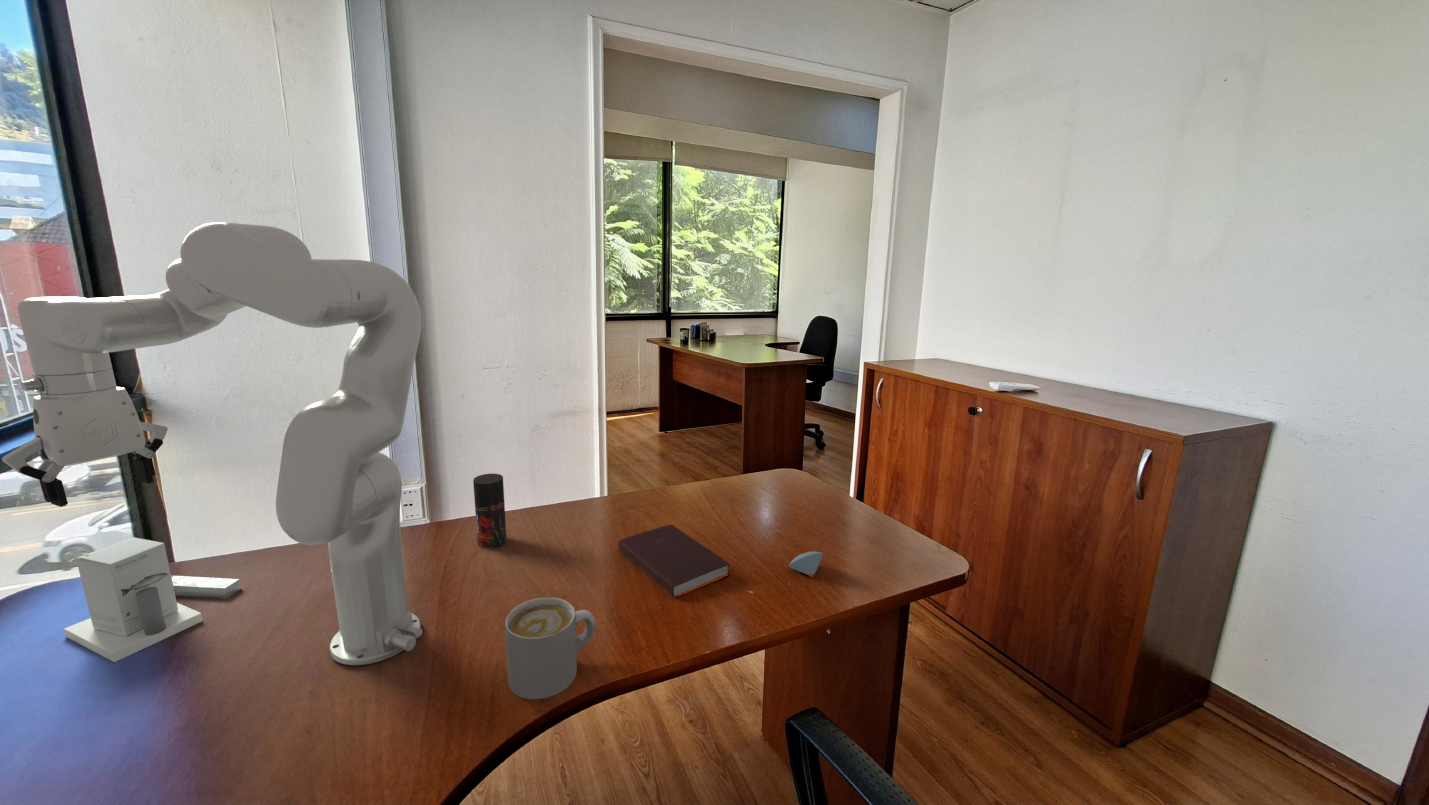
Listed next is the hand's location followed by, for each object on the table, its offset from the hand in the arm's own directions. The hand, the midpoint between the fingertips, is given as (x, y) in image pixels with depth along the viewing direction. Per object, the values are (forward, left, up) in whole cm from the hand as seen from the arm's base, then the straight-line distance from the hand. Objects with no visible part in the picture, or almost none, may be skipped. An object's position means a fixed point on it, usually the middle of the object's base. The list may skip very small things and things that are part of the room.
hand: (104, 492), depth 85 cm
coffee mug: (-67, -20, -24) cm, 74 cm away
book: (-69, -56, -25) cm, 93 cm away
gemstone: (-96, -65, -24) cm, 118 cm away
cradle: (0, 0, -24) cm, 24 cm away
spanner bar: (+5, -10, -24) cm, 26 cm away
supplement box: (0, 0, -23) cm, 23 cm away
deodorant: (-30, -47, -24) cm, 61 cm away
